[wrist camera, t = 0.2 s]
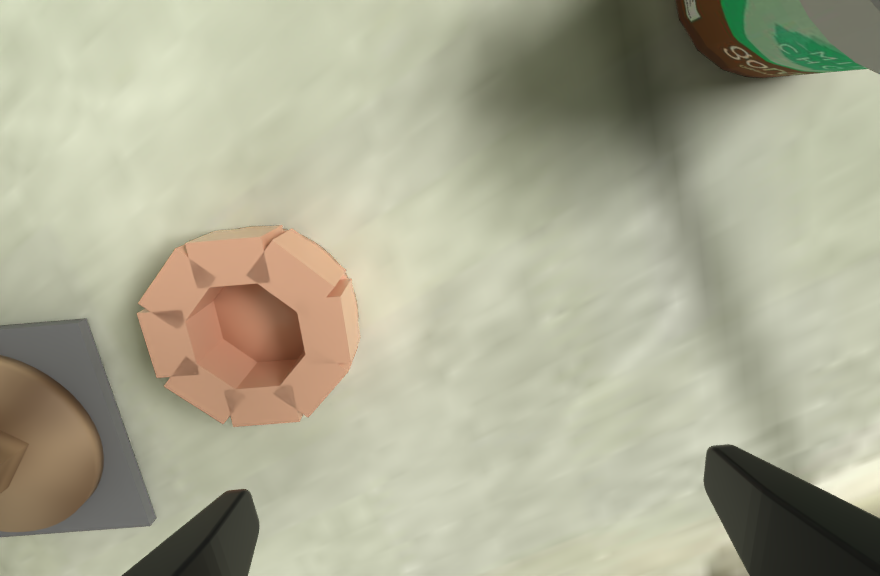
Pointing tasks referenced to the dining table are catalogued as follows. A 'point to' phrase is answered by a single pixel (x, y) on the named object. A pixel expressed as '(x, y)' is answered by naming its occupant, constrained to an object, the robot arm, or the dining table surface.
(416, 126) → the dining table surface
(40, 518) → the walnut lid
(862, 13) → the food container
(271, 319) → the terracotta bowl
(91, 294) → the dining table surface
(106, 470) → the rubber mat
